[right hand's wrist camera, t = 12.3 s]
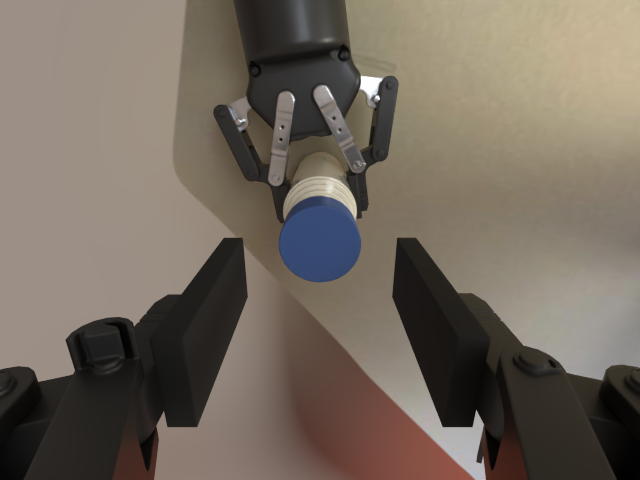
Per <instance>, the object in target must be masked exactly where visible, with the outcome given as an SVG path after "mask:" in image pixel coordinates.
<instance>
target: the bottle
mask: <svg viewBox="0 0 640 480" xmlns="http://www.w3.org/2000/svg"><path fill="white" fill-rule="evenodd" d="M313 196H327V197H331V198H334V199H336V200H338V201H340V202H341V203H343V204H344V205H345V206H346V207H347V208H348V209H349V210H350V211H351V213H352V214H353V216H354V219H355V221H356V216H357V207H356V202H355V199H354V196H353V194H352V191H351V189H350V186H349V184H348V181H347V178H346V176H345V173H344V171H343V168H342V166H341V164H340V162H339V161H338V160H337V159H336V158H335V157H334V156H332V155H330V154H328V153H325V152H315V153H312V154H309V155H308V156H306V157H305V158H304V159H303V160H302V161H301V162H300V164H299V166H298V168H297V171H296V173H295V176H294V178H293V181H292V183H291V186H290V188H289V191H288V194H287V196H286V199H285V202H284V206H283V217H284V221H285V218H286V216H287V214H288V213H289V211H290V210H291V209H292V207H293V206H295V205H296V204H297V203H298V202H300V201H302V200H304V199H306V198H309V197H313Z"/></svg>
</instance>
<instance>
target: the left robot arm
mask: <svg viewBox="0 0 640 480" xmlns="http://www.w3.org/2000/svg"><path fill="white" fill-rule="evenodd" d="M233 1H234V5H235V10H236V15H237V19H238V24H239V29H240V34H241V39H242V43H243V48H244V53H245V58H246V63H247V67H248V72H249V84H248V88H247V92H246V96H245V97H243V98H241V99H239V100H236V101H234V102H232V103H230V104H228V105H218V106H216V107H215V109H214V117H215V119H216V121H217V123H218V125H219V127H220V129H221V131H222V133H223V135H224V137H225V139H226V141H227V143H228V145H229V147H230V149H231V151H232V153H233V155H234V157H235V159H236V161H237V163H238V165H239V167H240V169H241V171H242V173H243V175H244V177H245V178H246V179H247V180H248V181H259V182H264V183H266V184H268V185H269V186H270V187H271V190H272V195H273V199H274V204H275V209H276V213H277V218H278V219H279V221H280V222H281V223H284V217H283V206H284V202H285V199H286V196H287V194H288V191H289V188H290V186H291V184H290V180H287V178H286V173H287V166H288V160H289V154H290V149H291V143H292V141H297V140H302V139H304V138H306V137H308V136H311V135H312V136H321V137H322V136H328V135H331V134H333V136H334V138H335V140H336V142H337V143H338V145H339V147H340V149H341V151H342V153H343V155H344V157H345V159H346V161H347V164H348V171H346V175H347V181H348V184H349V186H350V189H351V191H352V194H353V196H354V199H355V202H356V207H357V216H356V219H359V218H362V215H361V211H366V210H367V208H368V195H367V186H366V177H365V173H366V170H367V168H368V167H369V166H371V165H373V164H374V163H376V162H378V161H383V160H385V159H386V158H387V156H388V150H389V144H390V137H391V131H392V124H393V117H394V111H395V104H396V98H397V91H398V80H397V79H396V78H395V77H394V76H387V77H384V78H377V77H367V76H360V73H359V71H358V69H357V68H356V67H355V65H354V63H353V60H352V57H351V50H350V41H349V32H348V23H347V14H346V5H345V0H233ZM359 90H360V91H362V92H363V93H364V94H365V97H366V104H367V105H368V106H369V107H371V108H373V116H372V124H371V131H370V139H369V146H368V147H366V148H364V149H362V150H361V151H359V149H358V147H357V145H356V143H355V141H354V138H353V136H352V134H351V132H350V130H349V128H348V126H347V124H346V122H345V120H344V119H345V117H346V115H347V113H348V111H349V109H350V107H351V105H352V103H353V101H354V99H355V97H356V95H357V93H358V91H359ZM252 109H253V110H254V111H255V112H256V113H257V114H258V115H259V116H260V117H261V118H262V119H263V120H264V121H265V122H266V123H267V124H268V125H269V126H270V127H271V128H272V129H273V130H274V132H273V140H272V147H271V160H270V165H267V164H262V162H261V160H260V158H259V156H258V154H257V152H256V150H255V148H254V146H253V144H252V141H251V139H250V137H249V135H248V133H247V131H246V129H247V128H248V127H249V126H250V118H249V113H250V111H251V110H252Z"/></svg>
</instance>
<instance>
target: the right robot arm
mask: <svg viewBox="0 0 640 480" xmlns="http://www.w3.org/2000/svg"><path fill="white" fill-rule="evenodd" d="M247 297H248V295H247V283H246V271H245V259H244V247H243V238H224V239H223V240H222V241H221V243H220V244H219V245H218V247H217V248H216V249H215V251H214V252H213V253H212V255H211V256H210V257H209V259H208V260H207V261H206V263H205V264H204V265H203V266H202V268H201V269H200V270H199V272H198V273H197V274H196V276H195V277H194V278H193V280H192V281H191V283H190V284H189V285H188V286H187V288H186V289H185V290H184V292H183V293H182V294H181V295H167V296H165V297H163V298H162V299H160V300H159V301H157V302H155V303H154V304H153V306H152V307H151V308H150V309H149V310H148V311H147V314H145V315H144V316H143V317H142V318H141V319H140V322H139V323H137V324H136V325H135V326H134V325H133V322H131V321H130V320H129V319H126V318H121V317H113V318H105V319H101V320H97V321H93V322H91V323H88V324H86V325H84V326H82V327H80V328H78V329H77V330H75V331H74V332H72V333H71V334H70V335H69V336H68V338H67V339H66V343H67V346H68V349H69V352H70V356H71V359H72V362H73V365H74V368H75V372H74V374H73V375H69V376H65V377H60V378H55V379H51V380H46V381H41V382H38V380H37V377H36V375H35V372H34V371H33V370H32V369H30V368H29V367H19V366H18V367H12V368H5V369H1V370H0V480H154V475H155V466H156V458H157V450H158V441H159V439H158V432H157V428H156V425H157V423H158V421H159V419H160V417H161V415H162V413H163V411H164V413H165V417H166V422H167V426H168V427H197V426H198V424H199V421H200V418H201V416H202V413H203V411H204V408H205V406H206V403H207V400H208V398H209V395H210V393H211V390H212V388H213V385H214V382H215V380H216V377H217V375H218V372H219V369H220V367H221V364H222V362H223V359H224V357H225V354H226V351H227V349H228V346H229V344H230V341H231V338H232V336H233V333H234V331H235V328H236V326H237V323H238V320H239V318H240V315H241V313H242V310H243V307H244V305H245V302H246V300H247ZM392 297H393V300H394V302H395V305H396V308H397V310H398V313H399V315H400V318H401V320H402V323H403V326H404V328H405V331H406V333H407V336H408V339H409V341H410V344H411V346H412V349H413V351H414V354H415V357H416V359H417V362H418V364H419V367H420V369H421V372H422V375H423V377H424V380H425V382H426V385H427V388H428V390H429V393H430V395H431V398H432V400H433V403H434V406H435V408H436V411H437V413H438V416H439V418H440V421H441V424H442V426H443V427H473V422H474V417H475V413H476V410H477V412H478V414H479V415H480V417H481V419H482V421H483V423H484V428H483V432H482V437H481V441H480V445H479V450H478V454H477V461H476V462H478V463H481V462H482V458H483V457H484V466H485V474H486V480H640V368H638V367H633V366H626V365H615V366H611V367H609V368H608V369H607V370H606V372H605V375H604V377H603V380H597V379H592V378H587V377H582V376H578V375H573V374H569V373H566V371H565V369H564V368H563V367H562V365H561V364H560V363H559V362H558V361H557V360H555V359H554V358H553V357H551V356H550V355H548V354H546V353H544V352H542V351H540V350H538V349H534V348H530V347H527V346H523V345H522V343H521V342H520V341H519V340H518V339H517V338H516V336H515V335H514V334H513V333H512V332H511V331H510V330H509V328H508V327H507V326H506V325H505V324H504V323H503V321H501V319H500V318H499V317H498V316H497V314H496V313H494V311H493V310H492V309H491V308H490V306H489V305H488V304H487V303H486V302H485V301H484V300H482V299H480V298H479V297H477V296H475V295H474V294H472V293H457V292H456V290H455V289H454V288H453V286H452V285H451V284H450V282H449V281H448V280H447V278H446V277H445V276H444V274H443V273H442V272H441V270H440V269H439V268H438V266H437V265H436V264H435V263H434V261H433V260H432V259H431V257H430V256H429V255H428V253H427V252H426V251H425V249H424V248H423V247H422V245H421V244H420V243H419V241H418V240H417V239H416V238H397V247H396V259H395V271H394V283H393V295H392Z"/></svg>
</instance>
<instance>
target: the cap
mask: <svg viewBox="0 0 640 480" xmlns="http://www.w3.org/2000/svg"><path fill="white" fill-rule="evenodd" d="M360 249H361V239H360V234H359V231H358V228H357V225H356V222H355V219H354V216H353V214H352V213H351V211H350V210H349V209H348V208H347V207H346V206H345V205H344V204H343V203H341V202H340V201H338V200H336V199H334V198H331V197H327V196H313V197H309V198H306V199H304V200H302V201H300V202H298V203H297V204H296V205H295V206H293V207H292V209H291V210H290V211H289V213H288V214H287V216H286V218H285V221H284V224H283V227H282V231H281V234H280V238H279V250H280V254H281V257H282V259H283V261H284V263H285V265H286V266H287V267H288V268H289V269H290V270H291V271H292V272H293V273H294V274H295V275H297V276H299V277H300V278H303V279H305V280H308V281H313V282H327V281H332V280H335V279H337V278H340V277H341V276H343V275H345V274H346V273H347V272H348V271H349V270H350V269H351V268H352V267H353V266H354V264H355V263H356V261H357V259H358V257H359V254H360Z"/></svg>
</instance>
